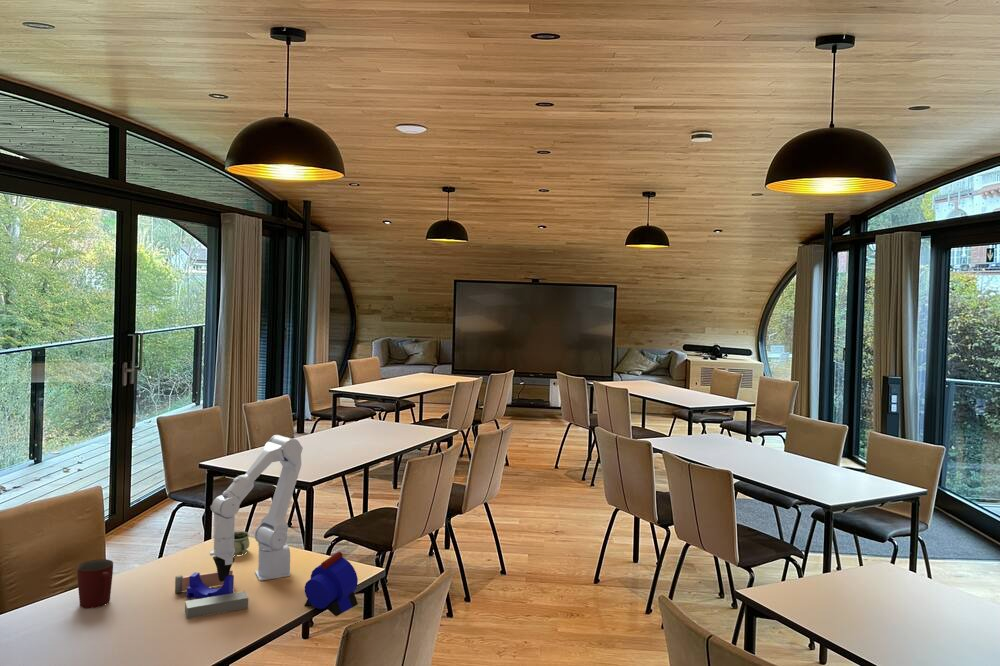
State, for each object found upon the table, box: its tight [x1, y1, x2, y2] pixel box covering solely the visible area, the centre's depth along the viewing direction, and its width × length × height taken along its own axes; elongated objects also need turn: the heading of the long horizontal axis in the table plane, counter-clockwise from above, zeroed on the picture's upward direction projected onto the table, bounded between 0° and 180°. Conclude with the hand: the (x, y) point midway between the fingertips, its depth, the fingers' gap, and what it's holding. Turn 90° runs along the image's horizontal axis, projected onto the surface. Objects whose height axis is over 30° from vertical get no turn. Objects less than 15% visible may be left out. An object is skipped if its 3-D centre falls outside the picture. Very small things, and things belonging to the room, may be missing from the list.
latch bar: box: [174, 568, 234, 594], centre depth 217 cm, size 16×2×4 cm, turn 120°
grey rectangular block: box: [184, 590, 249, 620], centre depth 203 cm, size 16×5×3 cm, turn 120°
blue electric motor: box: [304, 551, 359, 617], centre depth 208 cm, size 12×12×15 cm
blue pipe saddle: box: [186, 572, 235, 599], centre depth 212 cm, size 12×4×6 cm, turn 86°
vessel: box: [233, 530, 251, 556], centre depth 247 cm, size 12×9×6 cm
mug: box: [76, 558, 114, 609], centre depth 203 cm, size 12×9×11 cm
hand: (223, 580), depth 217 cm, fingers closed
